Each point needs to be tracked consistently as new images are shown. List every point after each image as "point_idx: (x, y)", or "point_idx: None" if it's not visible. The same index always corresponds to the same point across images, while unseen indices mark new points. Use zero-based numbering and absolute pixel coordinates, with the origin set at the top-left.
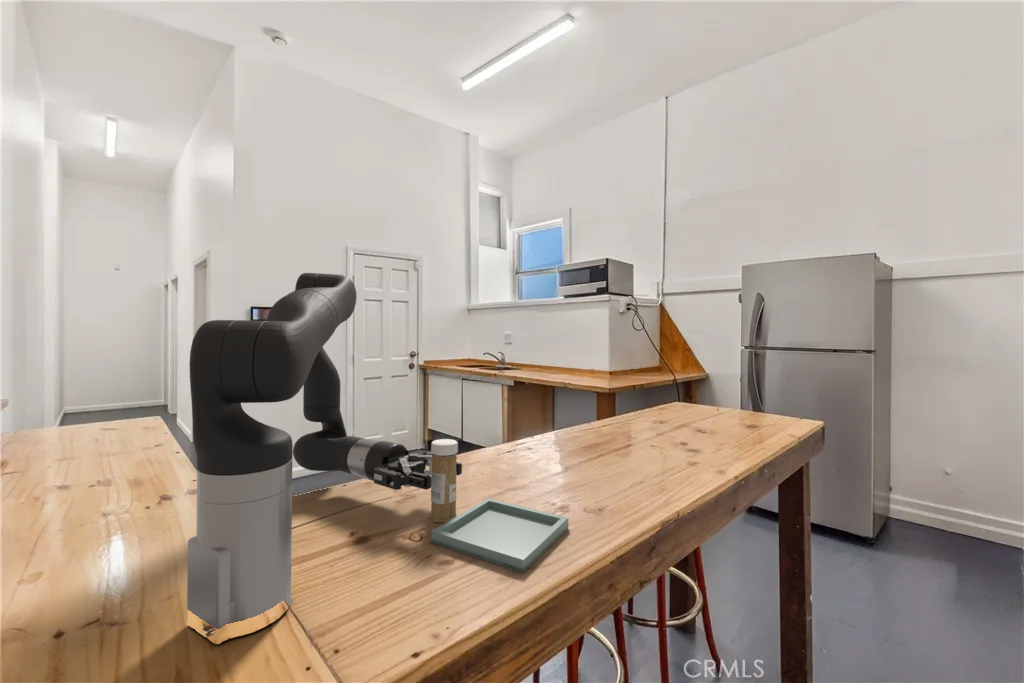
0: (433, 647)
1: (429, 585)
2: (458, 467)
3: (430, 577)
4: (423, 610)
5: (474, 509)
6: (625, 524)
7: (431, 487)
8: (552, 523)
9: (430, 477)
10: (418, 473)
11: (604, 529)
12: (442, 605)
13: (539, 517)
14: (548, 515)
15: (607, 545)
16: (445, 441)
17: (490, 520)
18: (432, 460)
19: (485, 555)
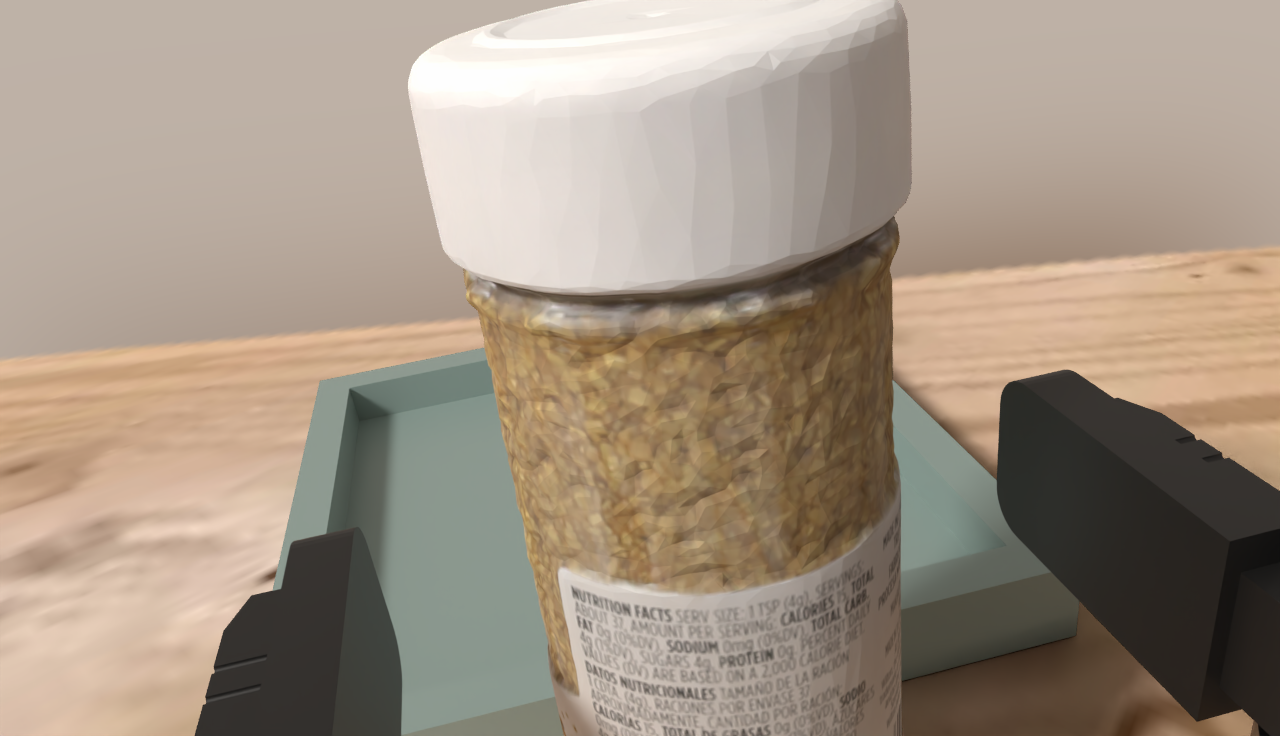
0: (1263, 253)
1: (1209, 393)
2: (369, 576)
3: (1189, 422)
4: (1269, 326)
5: (547, 663)
6: (175, 374)
7: (896, 696)
8: (356, 441)
9: (1015, 386)
10: (1165, 468)
11: (265, 381)
12: (1184, 323)
13: (346, 470)
14: (343, 421)
15: (405, 332)
16: (622, 20)
17: (536, 603)
18: (889, 327)
19: None
